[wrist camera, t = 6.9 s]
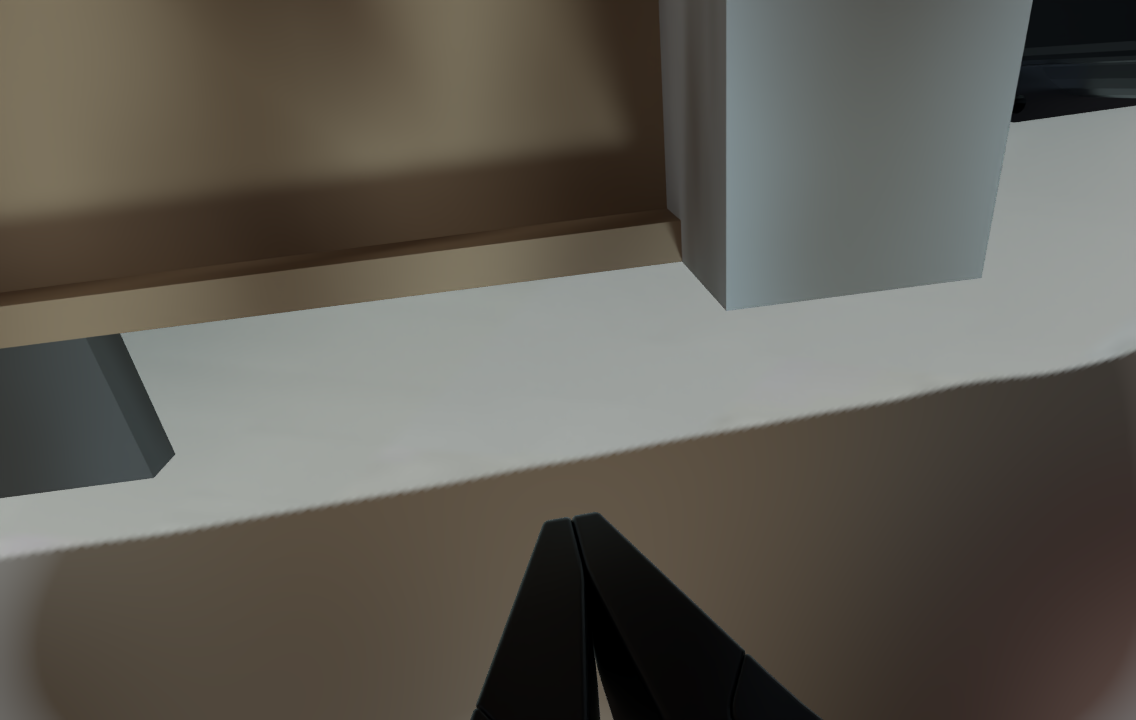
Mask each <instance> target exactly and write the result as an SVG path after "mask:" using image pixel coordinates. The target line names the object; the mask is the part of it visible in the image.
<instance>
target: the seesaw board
mask: <svg viewBox="0 0 1136 720" xmlns="http://www.w3.org/2000/svg"><path fill="white" fill-rule="evenodd" d="M1032 2H1033V0H0V498H5V497H12V496H20V495H27V494H35V493H43V492H50V491H58V490H65V489H73V488H80V487H88V486H95V485H103V484H110V483H118V482H126V481H133V480H141V479H148V478H154V477H155V476H156V475H157V474H158V472H159V471H160V470H161V469H162V468H163V467H164V466H165V465H166V464H167V463H168V462H169V460H170V459H171V458H172V457H173V456H174V455H175V453H174V450H173V448H172V446H171V444H170V442H169V440H168V437H167V435H166V433H165V431H164V429H163V426H162V424H161V422H160V420H159V418H158V416H157V413H156V411H155V409H154V407H153V405H152V402H151V400H150V398H149V396H148V394H147V392H146V389H145V387H144V385H143V383H142V381H141V378H140V376H139V374H138V372H137V370H136V368H135V365H134V363H133V361H132V359H131V357H130V354H129V352H128V350H127V348H126V346H125V344H124V341H123V339H122V337H121V335H120V333H126V332H134V331H142V330H149V329H157V328H165V327H173V326H181V325H188V324H196V323H204V322H212V321H220V320H228V319H235V318H243V317H251V316H259V315H267V314H274V313H282V312H290V311H298V310H306V309H314V308H321V307H329V306H337V305H345V304H353V303H360V302H368V301H376V300H384V299H392V298H400V297H407V296H415V295H423V294H431V293H439V292H446V291H454V290H462V289H470V288H478V287H486V286H493V285H501V284H509V283H517V282H525V281H533V280H540V279H548V278H556V277H564V276H572V275H579V274H587V273H595V272H603V271H611V270H619V269H626V268H634V267H642V266H650V265H658V264H665V263H673V262H681V261H682V262H683V263H684V264H685V265H686V266H687V267H688V268H689V270H690V271H691V272H692V273H693V274H694V275H695V276H696V277H697V279H698V280H699V281H700V282H701V283H702V284H703V285H704V286H705V288H706V289H707V290H708V291H709V292H710V293H711V294H712V295H713V297H714V298H715V299H716V300H717V301H718V302H719V303H720V304H721V305H722V307H723V308H724V309H725V310H726V311H729V310H736V309H744V308H752V307H759V306H767V305H775V304H783V303H790V302H798V301H806V300H813V299H821V298H829V297H837V296H844V295H852V294H860V293H867V292H875V291H883V290H891V289H898V288H906V287H914V286H921V285H929V284H937V283H945V282H952V281H960V280H968V279H975V278H981V277H982V271H983V266H984V260H985V255H986V250H987V244H988V239H989V234H990V228H991V223H992V217H993V212H994V207H995V201H996V196H997V190H998V185H999V180H1000V174H1001V169H1002V164H1003V158H1004V153H1005V147H1006V142H1007V137H1008V131H1009V126H1010V121H1011V115H1012V110H1013V104H1014V99H1015V94H1016V88H1017V83H1018V77H1019V72H1020V67H1021V61H1022V56H1023V51H1024V45H1025V40H1026V34H1027V29H1028V24H1029V18H1030V13H1031V8H1032Z"/></svg>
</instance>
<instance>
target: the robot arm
mask: <svg viewBox="0 0 1136 720" xmlns="http://www.w3.org/2000/svg"><path fill="white" fill-rule="evenodd" d="M1135 105H1136V0H1033V2H1032V8H1031V13H1030V18H1029V24H1028V29H1027V34H1026V40H1025V45H1024V51H1023V56H1022V61H1021V67H1020V72H1019V77H1018V83H1017V88H1016V94H1015V104H1014V107H1013V110H1012V115H1011V121H1010V122H1021V121H1028V120H1035V119H1042V118H1050V117H1057V116H1064V115H1071V114H1078V113H1085V112H1092V111H1100V110H1107V109H1114V108H1121V107H1128V106H1135ZM595 659H596V663H597V668H598V671H599V675H600V678H601V682H602V685H603V688H604V691H605V694H606V697H607V700H608V704H609V707H610V710H611V713H612V716H613V719H614V720H823V719H822V718H820V717H819V716H818V715H817V714H815V713H814V712H813V711H812V710H811V709H809V708H808V707H807V706H806V705H804V704H803V703H802V702H801V701H800V700H798V699H797V698H796V697H795V696H794V695H793V694H792V693H791V692H790V691H788V690H787V689H786V688H785V687H784V686H783V685H782V684H780V683H779V682H778V681H777V680H776V679H775V678H774V677H773V676H772V675H771V674H769V673H768V672H767V671H766V670H765V669H764V668H763V667H762V666H761V665H760V664H759V663H758V662H757V661H756V660H755V659H754V658H753V657H752V656H751V655H749V654H746V655H745V650H744V649H743V648H742V647H740V645H738V643H736V642H735V641H734V640H733V639H732V638H731V637H730V636H729V635H728V634H727V633H726V632H725V631H724V630H723V629H722V628H721V627H720V626H718V625H717V624H716V623H715V622H714V621H713V620H712V619H711V618H710V617H709V616H708V615H707V614H706V613H704V611H703V610H702V609H700V608H699V607H698V606H697V605H696V604H695V603H694V602H693V601H692V600H691V599H690V598H689V597H688V596H687V595H686V594H685V593H684V592H682V591H681V590H680V589H679V588H678V587H677V586H676V585H675V584H674V583H673V582H672V581H671V580H670V579H669V578H668V577H666V576H665V575H664V574H663V573H662V572H661V571H660V570H659V569H658V568H657V567H656V566H655V565H654V564H653V563H652V562H651V561H650V560H649V559H648V558H646V557H645V556H644V555H643V554H642V553H641V552H640V551H639V550H638V549H637V548H636V547H635V546H634V545H632V543H631V542H630V541H628V540H627V539H626V538H625V537H624V536H623V535H622V534H621V533H620V532H619V531H618V530H617V529H616V528H615V527H614V526H613V525H612V524H610V523H609V522H608V521H607V520H606V519H605V518H604V517H603V516H602V515H601V514H600V513H597V512H593V513H587V514H581V515H576V516H574V517H573V519H572V520H571V519H570V518H568V517H564V518H559V519H553V520H548V521H546V522H544V524H543V526H542V528H541V531H540V533H539V536H538V539H537V542H536V544H535V547H534V550H533V553H532V555H531V558H530V561H529V563H528V566H527V569H526V571H525V574H524V577H523V579H522V583H521V585H520V588H519V591H518V593H517V596H516V599H515V601H514V604H513V606H512V609H511V612H510V615H509V617H508V620H507V623H506V625H505V628H504V631H503V634H502V637H501V639H500V642H499V644H498V647H497V650H496V652H495V655H494V658H493V661H492V663H491V666H490V669H489V671H488V674H487V677H486V679H485V683H484V685H483V688H482V691H481V693H480V696H479V698H478V701H477V704H476V707H477V709H475V710H474V711H473V714H472V717H471V720H600V710H599V696H598V682H597V672H596V663H595Z"/></svg>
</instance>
